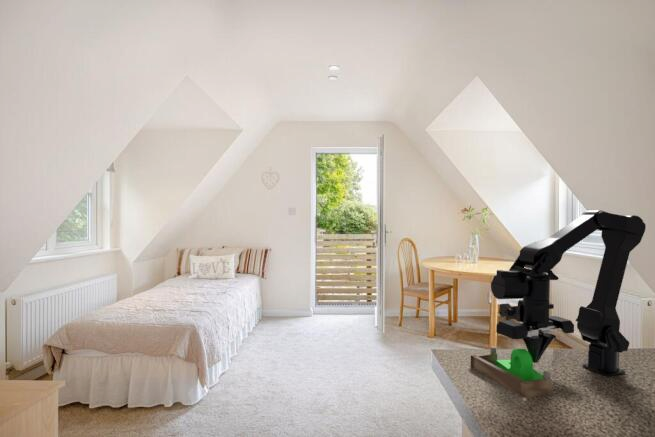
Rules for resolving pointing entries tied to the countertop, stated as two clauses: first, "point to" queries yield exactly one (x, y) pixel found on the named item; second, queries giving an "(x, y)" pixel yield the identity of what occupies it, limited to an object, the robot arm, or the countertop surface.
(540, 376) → the mechanical part
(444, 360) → the countertop surface
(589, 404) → the countertop surface
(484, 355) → the dock bracket
